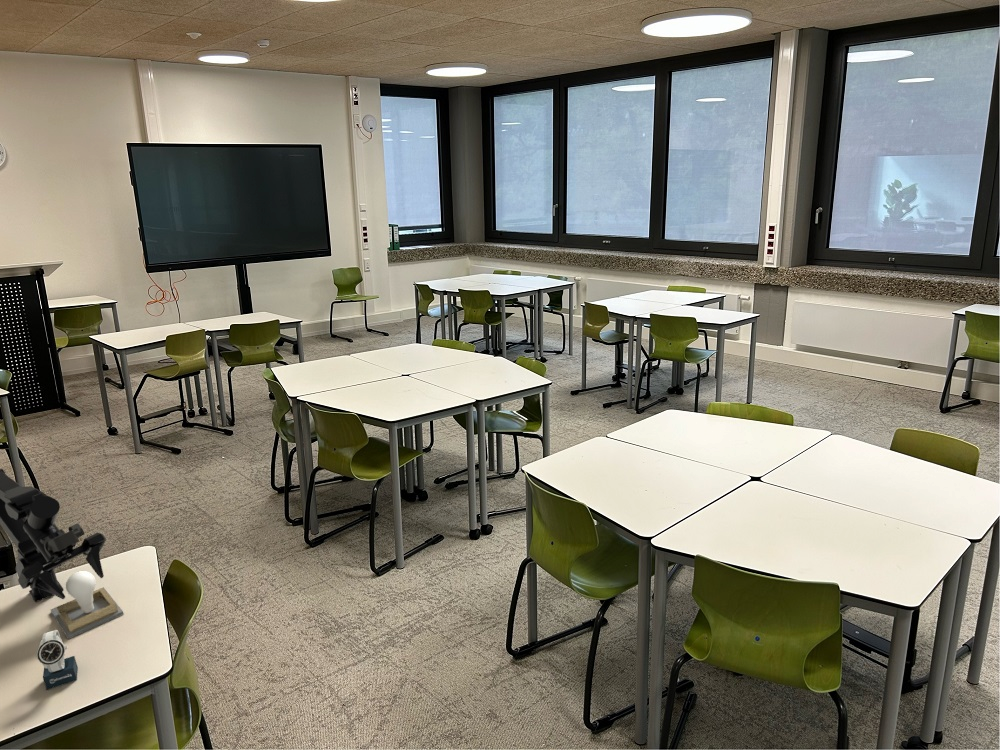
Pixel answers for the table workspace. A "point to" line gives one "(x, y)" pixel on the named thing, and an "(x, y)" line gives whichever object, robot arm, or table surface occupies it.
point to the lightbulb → (82, 589)
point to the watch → (56, 661)
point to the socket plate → (86, 614)
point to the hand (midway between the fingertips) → (83, 587)
